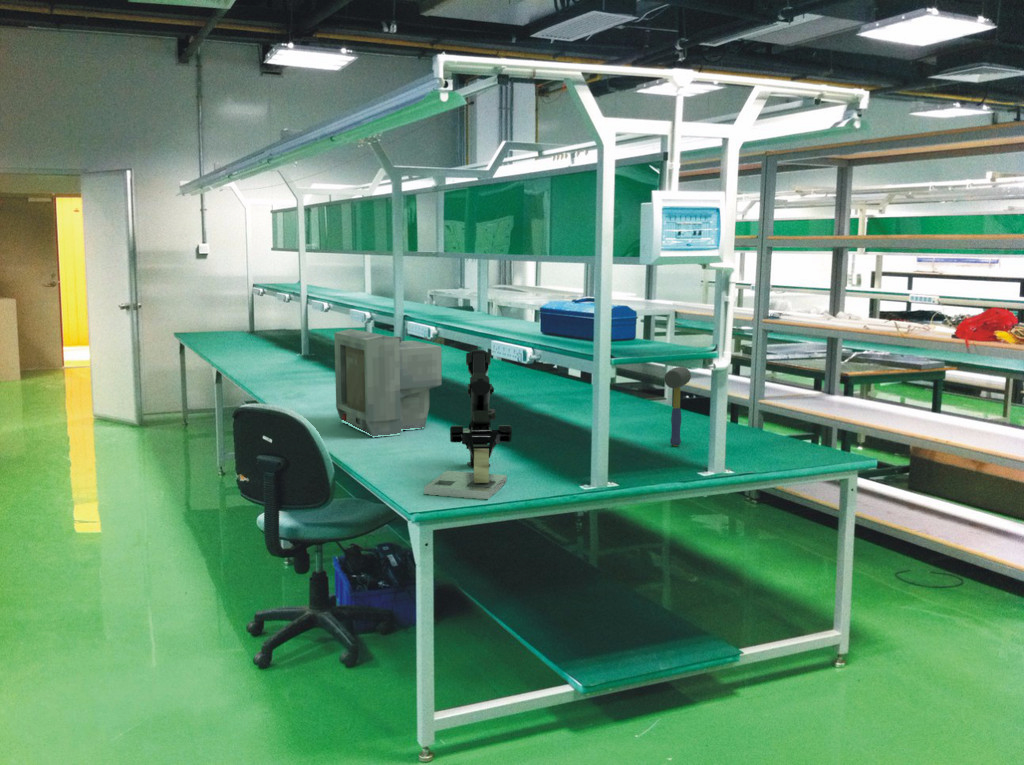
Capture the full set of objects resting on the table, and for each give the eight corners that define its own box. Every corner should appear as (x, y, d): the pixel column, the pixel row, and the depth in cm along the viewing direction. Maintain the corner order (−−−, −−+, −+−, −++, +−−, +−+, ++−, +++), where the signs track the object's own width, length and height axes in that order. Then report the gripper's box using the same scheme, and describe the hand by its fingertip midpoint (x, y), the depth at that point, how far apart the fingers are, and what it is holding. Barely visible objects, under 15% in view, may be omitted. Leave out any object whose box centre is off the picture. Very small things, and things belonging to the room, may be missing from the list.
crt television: (335, 423, 369) (333, 329, 363) (414, 415, 388) (413, 326, 382) (369, 439, 336) (367, 337, 330) (453, 430, 355) (452, 333, 349)
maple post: (473, 479, 264) (473, 448, 263) (488, 478, 264) (488, 448, 263) (474, 482, 260) (474, 451, 258) (488, 482, 260) (488, 451, 259)
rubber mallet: (671, 441, 335) (673, 365, 331) (689, 444, 332) (692, 366, 327) (660, 448, 324) (663, 368, 320) (679, 450, 321) (682, 370, 316)
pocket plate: (446, 478, 279) (446, 469, 278) (506, 482, 273) (506, 474, 273) (424, 494, 259) (424, 485, 259) (488, 499, 254) (488, 490, 254)
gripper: (450, 399, 262) (450, 443, 253) (511, 399, 263) (513, 442, 254) (450, 420, 271) (450, 463, 262) (509, 419, 272) (511, 462, 263)
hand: (481, 457), depth 260 cm, fingers closed on maple post, 4 cm apart
